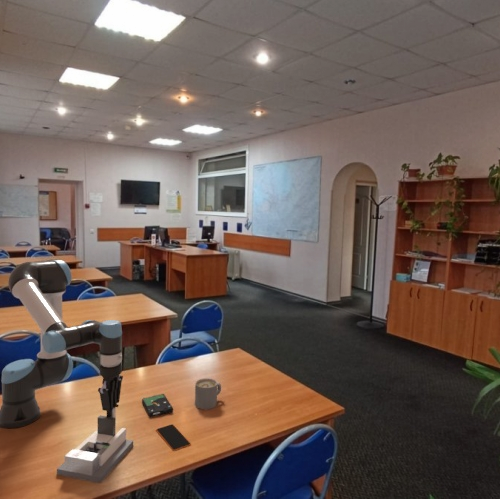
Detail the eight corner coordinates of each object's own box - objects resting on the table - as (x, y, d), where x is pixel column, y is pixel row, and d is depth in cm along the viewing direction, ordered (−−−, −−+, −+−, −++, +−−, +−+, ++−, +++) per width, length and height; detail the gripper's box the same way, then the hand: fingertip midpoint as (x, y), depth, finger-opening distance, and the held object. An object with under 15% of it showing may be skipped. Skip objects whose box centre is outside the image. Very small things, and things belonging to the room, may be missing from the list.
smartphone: (173, 452, 144) (173, 450, 144) (155, 431, 157) (155, 429, 157) (191, 445, 148) (191, 443, 148) (172, 425, 162) (172, 423, 162)
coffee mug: (201, 411, 173) (201, 389, 172) (191, 402, 182) (191, 381, 181) (227, 404, 181) (227, 383, 180) (216, 395, 189) (217, 375, 188)
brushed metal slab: (64, 470, 129) (64, 456, 128) (72, 462, 133) (72, 448, 132) (92, 475, 127) (92, 461, 126) (99, 467, 130) (99, 453, 130)
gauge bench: (56, 474, 129) (56, 456, 129) (94, 439, 150) (94, 423, 149) (100, 483, 126) (100, 464, 126) (133, 445, 147) (133, 429, 146)
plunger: (88, 452, 138) (88, 425, 137) (100, 441, 145) (100, 415, 144) (104, 455, 137) (104, 427, 136) (115, 443, 143) (115, 417, 143)
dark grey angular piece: (85, 455, 136) (85, 441, 136) (88, 452, 138) (88, 438, 137) (107, 459, 135) (107, 445, 134) (110, 456, 136) (110, 442, 136)
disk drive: (173, 413, 172) (163, 398, 185) (173, 407, 171) (163, 393, 184) (149, 419, 167) (141, 403, 180) (149, 412, 166) (141, 397, 179)
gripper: (110, 371, 136) (110, 436, 139) (129, 358, 149) (129, 417, 151) (91, 369, 138) (91, 433, 140) (111, 356, 150) (111, 414, 153)
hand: (111, 424), depth 146 cm, fingers closed
